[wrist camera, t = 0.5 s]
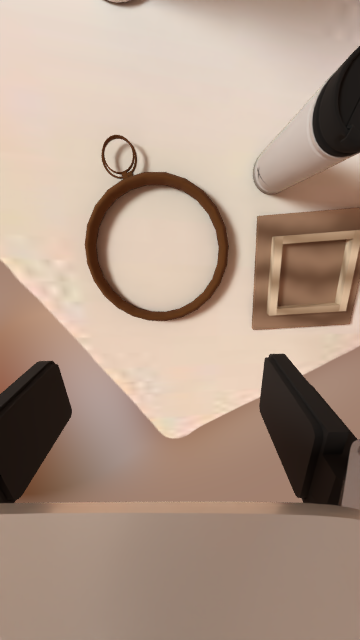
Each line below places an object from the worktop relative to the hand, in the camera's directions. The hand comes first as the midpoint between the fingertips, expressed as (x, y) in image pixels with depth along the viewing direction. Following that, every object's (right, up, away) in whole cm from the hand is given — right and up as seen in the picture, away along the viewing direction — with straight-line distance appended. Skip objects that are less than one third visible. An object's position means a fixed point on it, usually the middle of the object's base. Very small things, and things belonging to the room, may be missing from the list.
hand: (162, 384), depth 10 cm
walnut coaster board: (+23, +11, +29) cm, 39 cm away
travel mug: (+15, +26, +24) cm, 38 cm away
